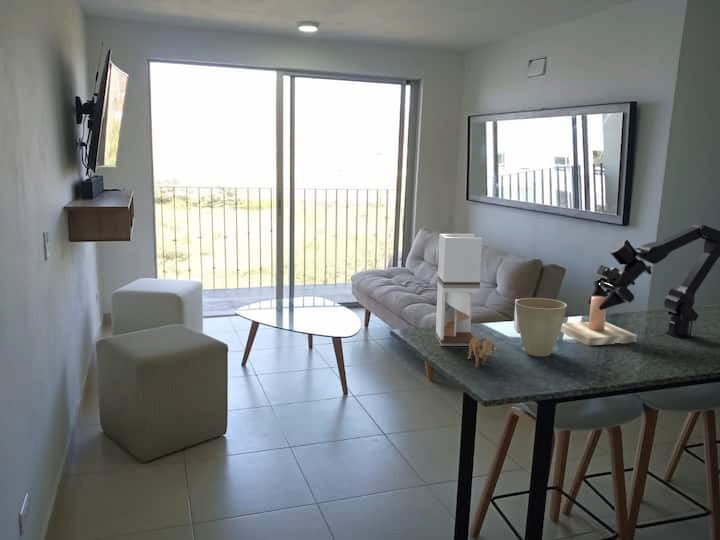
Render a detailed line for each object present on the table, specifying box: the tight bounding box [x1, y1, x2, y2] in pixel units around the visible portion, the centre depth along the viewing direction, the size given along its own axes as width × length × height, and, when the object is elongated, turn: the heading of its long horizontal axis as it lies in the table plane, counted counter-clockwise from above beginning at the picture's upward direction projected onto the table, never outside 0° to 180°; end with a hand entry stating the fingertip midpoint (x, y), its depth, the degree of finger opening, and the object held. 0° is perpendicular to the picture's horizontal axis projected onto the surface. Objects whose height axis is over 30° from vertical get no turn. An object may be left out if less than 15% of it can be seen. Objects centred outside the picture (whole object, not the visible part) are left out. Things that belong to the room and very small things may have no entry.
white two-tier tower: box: [435, 233, 483, 347], centre depth 187 cm, size 11×11×35 cm
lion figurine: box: [465, 336, 498, 367], centre depth 170 cm, size 15×5×9 cm, turn 16°
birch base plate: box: [560, 321, 638, 346], centre depth 198 cm, size 18×18×2 cm
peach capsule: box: [588, 295, 607, 331], centre depth 197 cm, size 5×5×11 cm
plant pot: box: [516, 297, 567, 358], centre depth 178 cm, size 15×15×16 cm
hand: (594, 306), depth 196 cm, fingers open, 7 cm apart
